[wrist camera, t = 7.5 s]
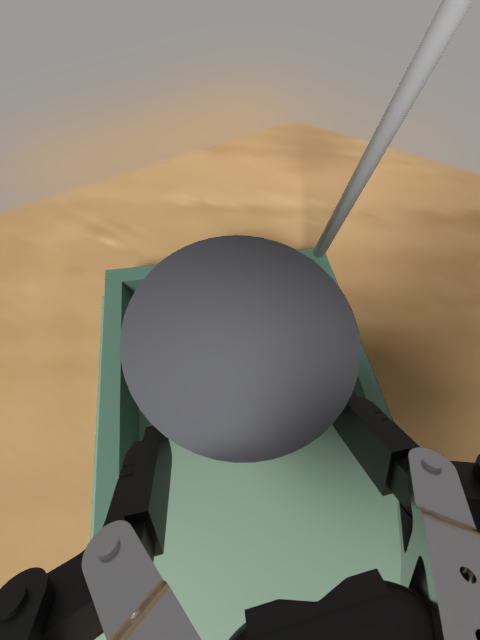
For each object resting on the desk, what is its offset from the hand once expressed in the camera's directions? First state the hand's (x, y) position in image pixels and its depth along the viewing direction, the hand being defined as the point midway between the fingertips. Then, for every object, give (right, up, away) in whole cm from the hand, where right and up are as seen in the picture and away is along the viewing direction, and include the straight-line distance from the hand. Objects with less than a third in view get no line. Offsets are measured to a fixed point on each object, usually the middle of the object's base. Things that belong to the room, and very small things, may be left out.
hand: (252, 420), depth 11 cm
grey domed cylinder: (-1, +2, +5) cm, 6 cm away
